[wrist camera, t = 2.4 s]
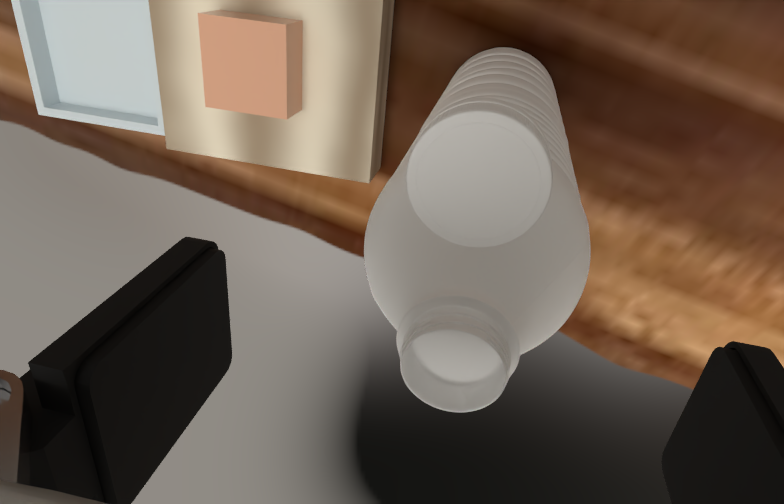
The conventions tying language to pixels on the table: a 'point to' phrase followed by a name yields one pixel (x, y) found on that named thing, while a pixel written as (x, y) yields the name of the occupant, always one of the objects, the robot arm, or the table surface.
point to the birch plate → (319, 87)
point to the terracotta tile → (251, 63)
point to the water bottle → (479, 233)
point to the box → (92, 61)
